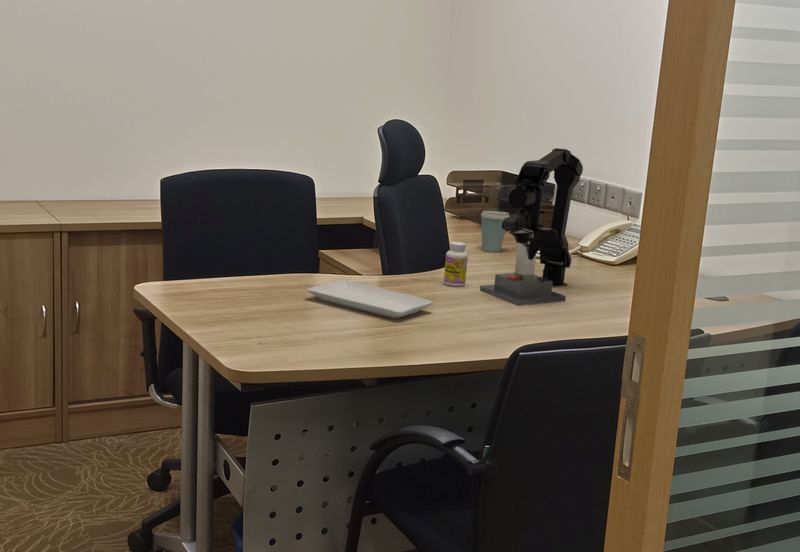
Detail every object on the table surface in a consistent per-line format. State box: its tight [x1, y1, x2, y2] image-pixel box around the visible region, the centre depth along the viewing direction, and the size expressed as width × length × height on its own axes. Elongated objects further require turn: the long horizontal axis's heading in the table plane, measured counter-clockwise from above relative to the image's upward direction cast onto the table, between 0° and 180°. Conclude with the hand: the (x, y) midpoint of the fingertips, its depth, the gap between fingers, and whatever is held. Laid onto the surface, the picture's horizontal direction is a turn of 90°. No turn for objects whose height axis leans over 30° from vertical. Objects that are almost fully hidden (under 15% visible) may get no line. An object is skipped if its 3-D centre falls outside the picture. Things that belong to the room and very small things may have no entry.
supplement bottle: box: [443, 241, 469, 288], centre depth 283 cm, size 7×7×13 cm
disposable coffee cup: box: [480, 210, 511, 253], centre depth 344 cm, size 11×11×15 cm
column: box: [513, 241, 537, 280], centre depth 274 cm, size 6×4×11 cm
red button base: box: [479, 272, 567, 306], centre depth 275 cm, size 18×18×6 cm
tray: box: [306, 279, 434, 319], centre depth 251 cm, size 17×31×4 cm, turn 55°
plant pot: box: [528, 203, 554, 251], centre depth 357 cm, size 16×16×16 cm
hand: (526, 258), depth 274 cm, fingers closed on column, 4 cm apart
